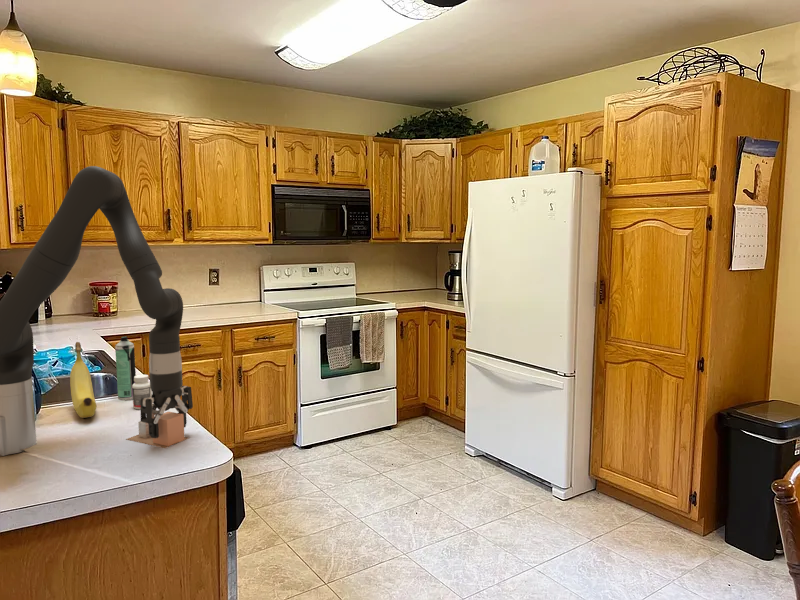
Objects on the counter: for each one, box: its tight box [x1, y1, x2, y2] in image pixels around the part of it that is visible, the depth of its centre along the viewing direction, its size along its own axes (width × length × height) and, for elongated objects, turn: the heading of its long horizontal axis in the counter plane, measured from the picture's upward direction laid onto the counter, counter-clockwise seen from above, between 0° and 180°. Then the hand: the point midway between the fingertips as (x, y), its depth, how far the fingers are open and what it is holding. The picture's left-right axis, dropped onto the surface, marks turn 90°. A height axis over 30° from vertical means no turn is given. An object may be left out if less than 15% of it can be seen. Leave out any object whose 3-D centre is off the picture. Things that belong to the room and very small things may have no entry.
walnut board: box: [125, 433, 190, 449], centre depth 149 cm, size 8×14×1 cm, turn 64°
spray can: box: [114, 336, 137, 401], centre depth 187 cm, size 6×6×20 cm
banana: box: [69, 341, 97, 419], centre depth 170 cm, size 23×6×20 cm, turn 34°
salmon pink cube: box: [153, 411, 185, 447], centre depth 146 cm, size 5×5×7 cm
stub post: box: [137, 420, 151, 438], centre depth 150 cm, size 3×3×4 cm
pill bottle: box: [132, 374, 152, 411], centre depth 177 cm, size 5×5×10 cm
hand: (168, 432), depth 146 cm, fingers open, 8 cm apart
